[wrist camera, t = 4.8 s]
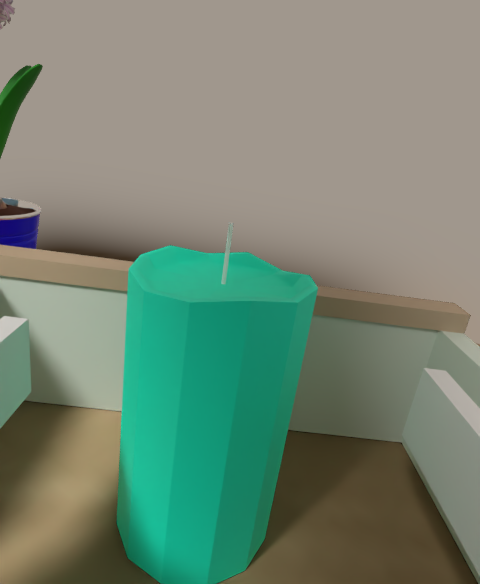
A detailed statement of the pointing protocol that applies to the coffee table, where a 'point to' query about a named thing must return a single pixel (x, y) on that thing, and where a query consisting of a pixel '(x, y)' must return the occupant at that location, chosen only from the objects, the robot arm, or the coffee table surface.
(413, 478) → the coffee table surface
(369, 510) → the coffee table surface
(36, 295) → the white u-shaped frame
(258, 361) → the candle
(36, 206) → the hyacinth
